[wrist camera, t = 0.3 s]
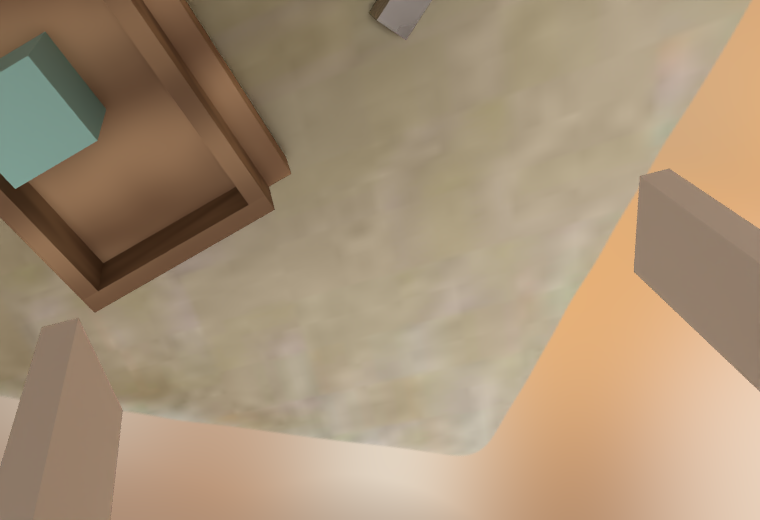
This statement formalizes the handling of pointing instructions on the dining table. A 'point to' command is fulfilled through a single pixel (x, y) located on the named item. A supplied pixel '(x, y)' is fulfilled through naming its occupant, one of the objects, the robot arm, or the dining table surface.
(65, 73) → the teal block
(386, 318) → the dining table surface
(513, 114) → the dining table surface
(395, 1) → the crook tool
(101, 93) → the tray
